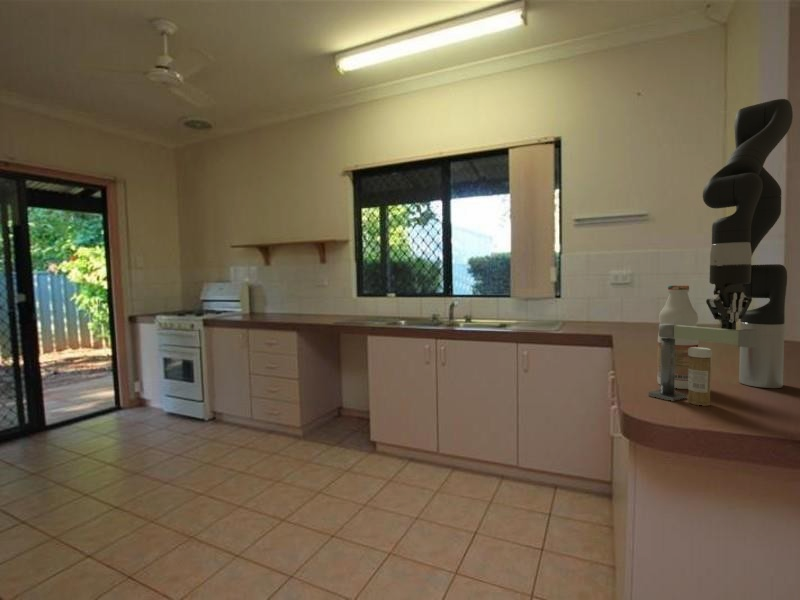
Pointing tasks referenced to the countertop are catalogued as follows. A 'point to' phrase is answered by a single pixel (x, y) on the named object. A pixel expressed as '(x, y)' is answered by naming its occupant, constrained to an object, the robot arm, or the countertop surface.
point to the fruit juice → (679, 314)
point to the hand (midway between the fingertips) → (728, 338)
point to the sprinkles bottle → (699, 376)
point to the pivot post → (667, 372)
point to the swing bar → (710, 334)
